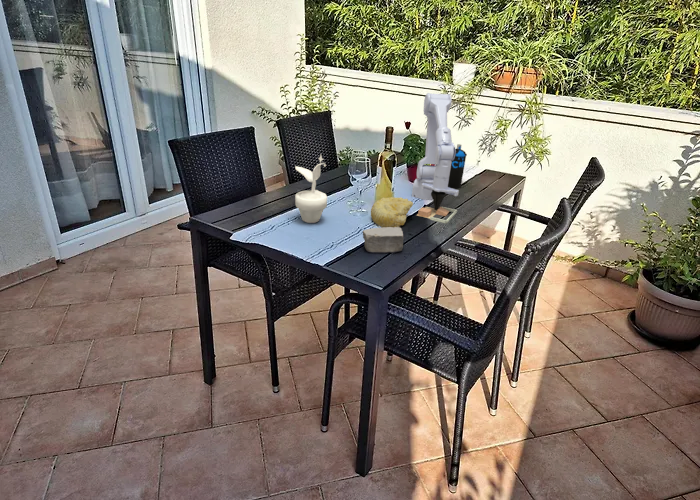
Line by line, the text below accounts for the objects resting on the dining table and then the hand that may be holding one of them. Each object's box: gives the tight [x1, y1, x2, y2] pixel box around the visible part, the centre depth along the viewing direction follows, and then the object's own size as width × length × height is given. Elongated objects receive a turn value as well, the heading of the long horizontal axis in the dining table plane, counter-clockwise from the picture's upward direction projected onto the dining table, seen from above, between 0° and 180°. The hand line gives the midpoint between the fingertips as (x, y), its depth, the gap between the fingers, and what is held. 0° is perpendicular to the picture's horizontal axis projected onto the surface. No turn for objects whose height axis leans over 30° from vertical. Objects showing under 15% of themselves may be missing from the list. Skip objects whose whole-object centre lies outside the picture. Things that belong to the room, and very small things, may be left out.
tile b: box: [417, 207, 432, 218], centre depth 177 cm, size 4×4×2 cm
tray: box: [429, 206, 458, 225], centre depth 177 cm, size 6×14×2 cm, turn 152°
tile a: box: [435, 206, 450, 217], centre depth 179 cm, size 4×4×2 cm
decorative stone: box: [362, 227, 404, 254], centre depth 149 cm, size 15×7×10 cm
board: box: [416, 206, 437, 220], centre depth 180 cm, size 6×12×2 cm, turn 152°
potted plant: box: [294, 155, 328, 224], centre depth 164 cm, size 13×12×25 cm
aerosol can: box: [448, 143, 467, 190], centre depth 213 cm, size 8×8×20 cm
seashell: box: [370, 196, 414, 228], centre depth 169 cm, size 17×11×15 cm
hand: (436, 209), depth 180 cm, fingers closed
